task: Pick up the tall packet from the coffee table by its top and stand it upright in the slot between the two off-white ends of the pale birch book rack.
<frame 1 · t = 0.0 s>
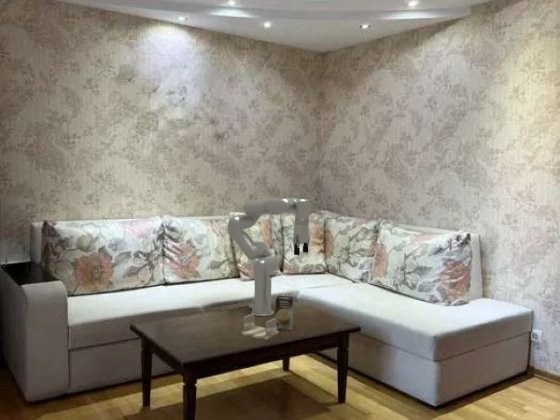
hand: (301, 253, 272), 37 cm above the table, tool pointing down, fingers open, 9 cm apart
book rack: (259, 333, 253), on the table
coffee box: (283, 328, 263), on the table
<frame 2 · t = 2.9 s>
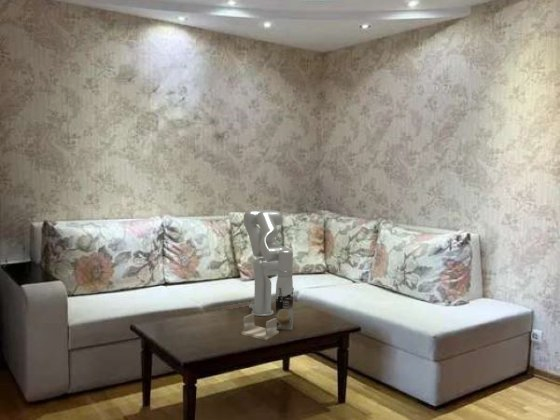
hand: (284, 306, 262), 11 cm above the table, tool pointing down, fingers closed on coffee box, 8 cm apart
coffee box: (283, 328, 263), on the table, touching gripper
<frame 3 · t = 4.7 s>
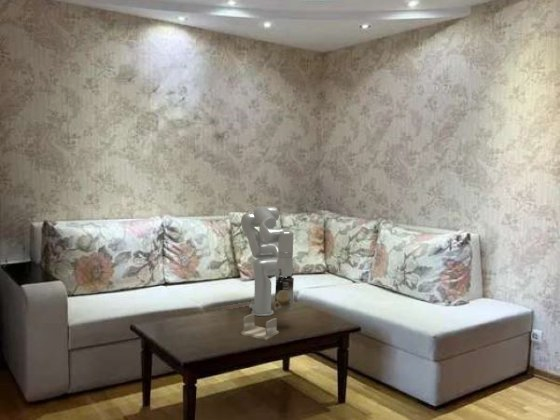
hand: (284, 287, 262), 21 cm above the table, tool pointing down, fingers closed on coffee box, 8 cm apart
coffee box: (283, 309, 263), point 9 cm above the table, touching gripper
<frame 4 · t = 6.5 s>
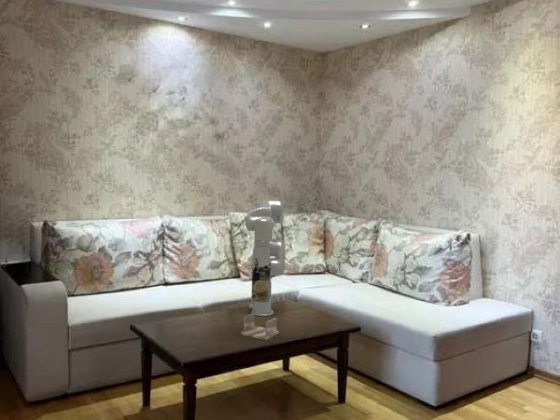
hand: (261, 278, 250), 28 cm above the table, tool pointing down, fingers closed on coffee box, 8 cm apart
coffee box: (260, 300, 251), point 17 cm above the table, touching gripper
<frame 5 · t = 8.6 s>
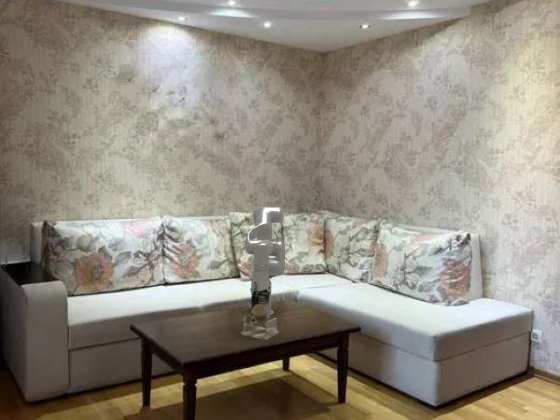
hand: (260, 301, 251), 16 cm above the table, tool pointing down, fingers closed on coffee box, 8 cm apart
coffee box: (260, 324, 252), point 5 cm above the table, touching gripper
when the fingers open (14 cm above the table, at t = 10.2 s): coffee box drops 1 cm, resting on book rack.
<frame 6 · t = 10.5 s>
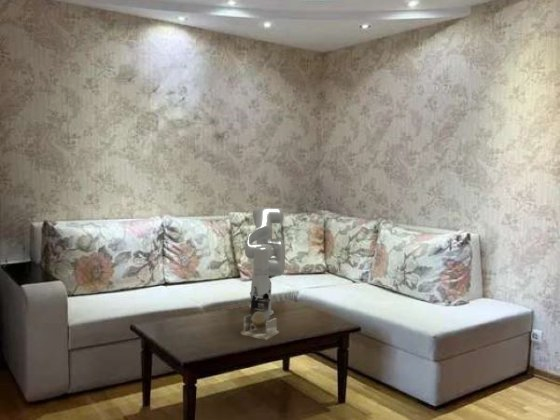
hand: (260, 305, 251), 14 cm above the table, tool pointing down, fingers open, 9 cm apart
coffee box: (259, 331, 253), point 1 cm above the table, touching book rack
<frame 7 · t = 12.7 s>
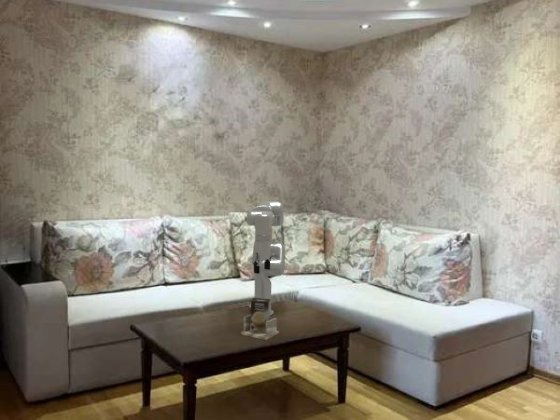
hand: (261, 271, 257), 30 cm above the table, tool pointing down, fingers open, 9 cm apart
nothing on the table moved.
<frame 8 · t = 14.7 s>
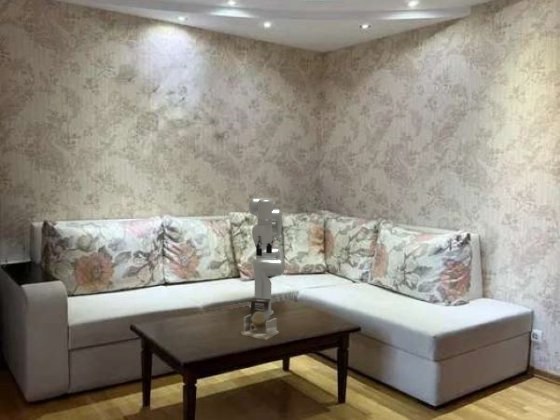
hand: (264, 254, 270), 36 cm above the table, tool pointing down, fingers open, 9 cm apart
nothing on the table moved.
at the end: coffee box 0.3 cm off-centre on the book rack, point 1.0 cm above the book rack's base; coffee box tilted 0°; the gripper is holding nothing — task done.
